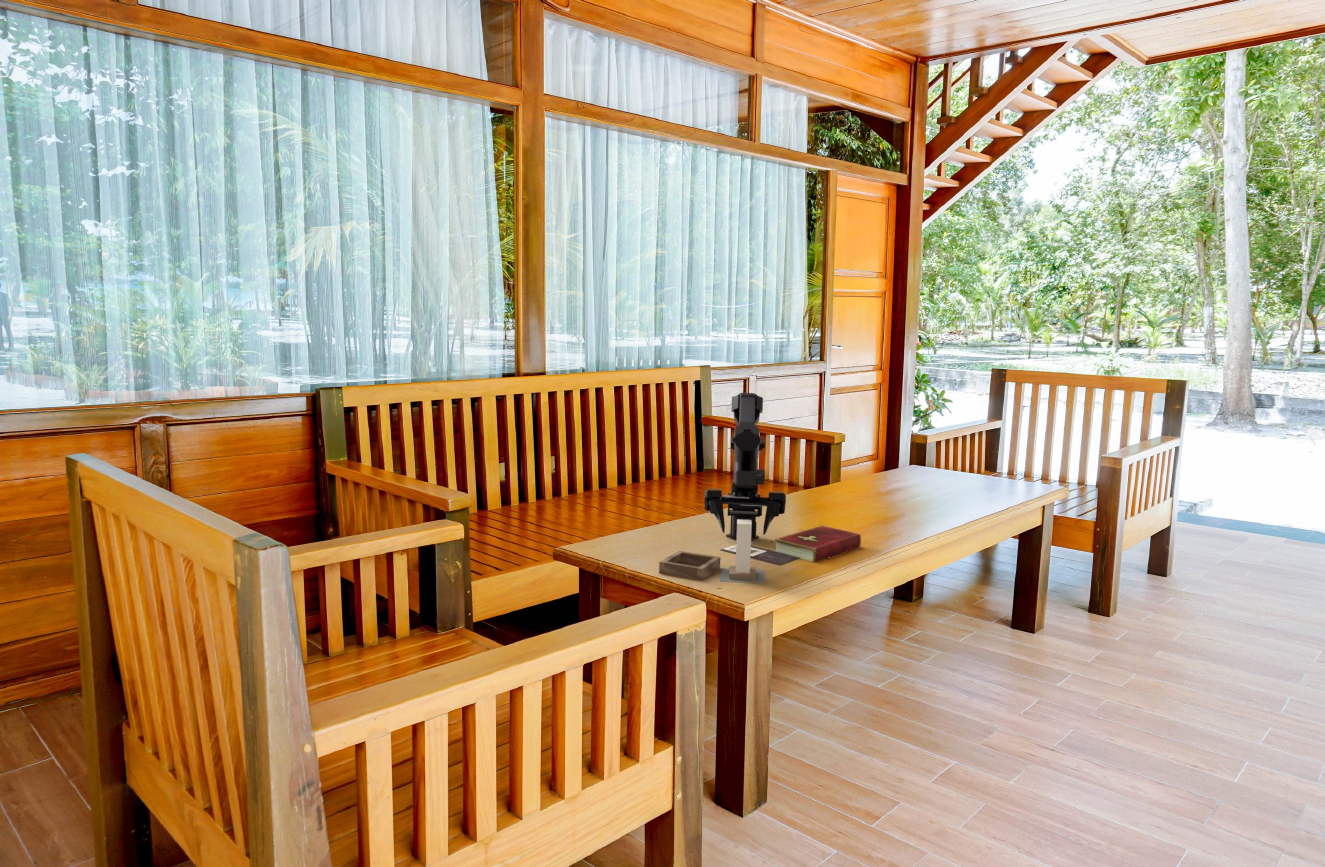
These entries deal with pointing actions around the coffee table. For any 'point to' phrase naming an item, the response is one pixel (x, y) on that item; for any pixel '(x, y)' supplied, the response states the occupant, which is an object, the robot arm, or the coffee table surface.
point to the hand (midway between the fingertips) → (743, 532)
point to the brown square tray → (677, 569)
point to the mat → (759, 579)
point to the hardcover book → (818, 543)
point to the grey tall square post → (743, 553)
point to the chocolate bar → (765, 555)
